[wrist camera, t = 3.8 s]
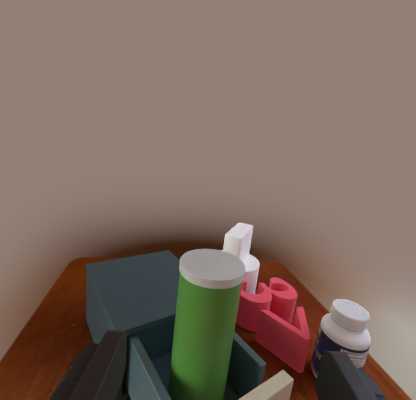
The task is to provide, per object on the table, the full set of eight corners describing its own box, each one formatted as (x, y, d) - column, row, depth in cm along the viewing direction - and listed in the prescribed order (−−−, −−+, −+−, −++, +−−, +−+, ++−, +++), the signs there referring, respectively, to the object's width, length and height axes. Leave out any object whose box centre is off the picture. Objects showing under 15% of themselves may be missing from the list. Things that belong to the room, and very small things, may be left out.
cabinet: (213, 356, 33) (221, 297, 31) (113, 406, 25) (116, 333, 24) (164, 295, 44) (168, 250, 42) (85, 317, 37) (86, 263, 35)
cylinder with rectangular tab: (248, 308, 43) (259, 243, 41) (201, 292, 46) (208, 230, 44) (259, 284, 51) (268, 229, 49) (218, 271, 55) (225, 218, 52)
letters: (332, 368, 33) (341, 335, 32) (263, 379, 30) (270, 344, 29) (277, 301, 46) (282, 277, 45) (225, 305, 44) (229, 278, 42)
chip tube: (184, 448, 21) (204, 286, 18) (156, 391, 25) (168, 254, 22) (234, 413, 24) (259, 270, 21) (202, 368, 29) (218, 245, 25)
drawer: (322, 490, 20) (342, 425, 19) (205, 641, 13) (221, 557, 12) (200, 340, 34) (206, 295, 33) (113, 377, 27) (115, 323, 26)
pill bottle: (304, 355, 35) (319, 292, 33) (344, 361, 34) (361, 298, 32) (318, 392, 29) (337, 320, 27) (365, 400, 29) (388, 327, 27)
